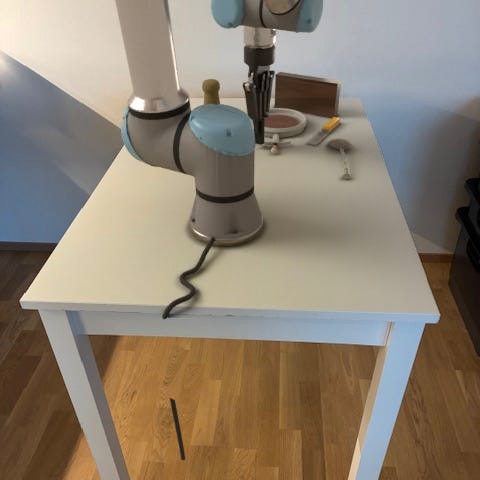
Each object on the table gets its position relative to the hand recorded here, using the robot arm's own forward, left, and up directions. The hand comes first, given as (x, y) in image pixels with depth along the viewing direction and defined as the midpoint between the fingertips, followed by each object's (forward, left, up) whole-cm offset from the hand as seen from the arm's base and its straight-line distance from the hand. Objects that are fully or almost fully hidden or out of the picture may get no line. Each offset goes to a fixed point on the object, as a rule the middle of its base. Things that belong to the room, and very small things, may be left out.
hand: (258, 143), depth 130 cm
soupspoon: (+3, -22, -2) cm, 23 cm away
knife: (+18, -12, -2) cm, 22 cm away
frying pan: (+11, 0, -2) cm, 11 cm away
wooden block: (+31, 0, -2) cm, 31 cm away
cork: (+13, +22, -2) cm, 26 cm away
